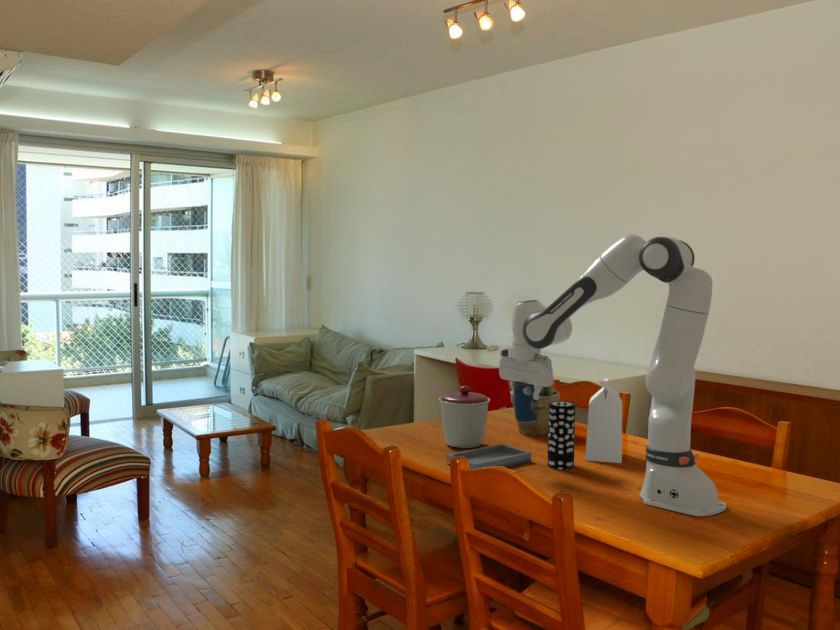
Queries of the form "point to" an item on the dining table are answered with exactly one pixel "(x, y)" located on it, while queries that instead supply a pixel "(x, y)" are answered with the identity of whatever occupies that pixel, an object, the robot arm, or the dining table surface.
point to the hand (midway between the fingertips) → (525, 397)
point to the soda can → (525, 403)
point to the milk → (604, 426)
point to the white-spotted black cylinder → (561, 435)
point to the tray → (494, 456)
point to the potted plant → (539, 413)
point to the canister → (464, 418)
